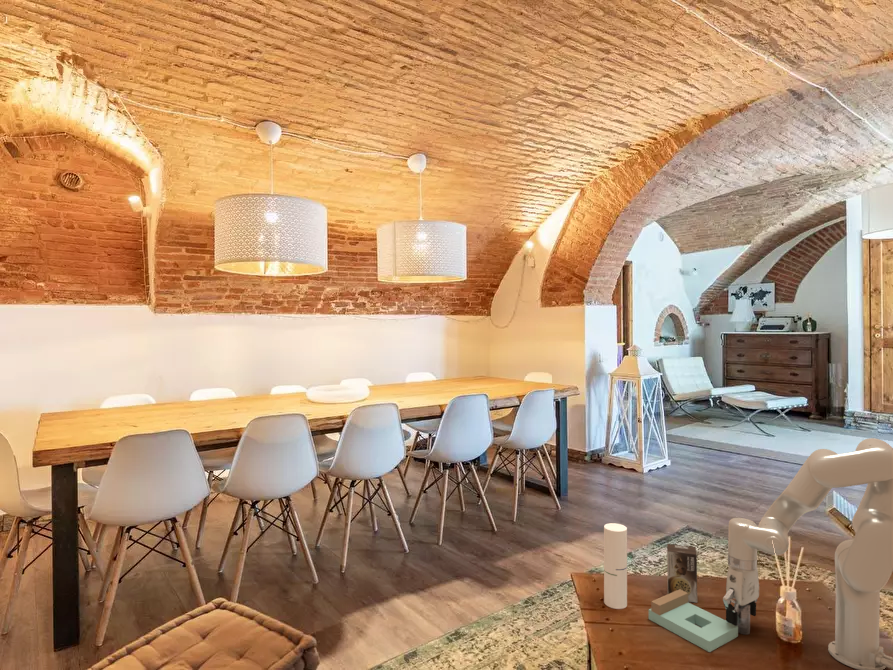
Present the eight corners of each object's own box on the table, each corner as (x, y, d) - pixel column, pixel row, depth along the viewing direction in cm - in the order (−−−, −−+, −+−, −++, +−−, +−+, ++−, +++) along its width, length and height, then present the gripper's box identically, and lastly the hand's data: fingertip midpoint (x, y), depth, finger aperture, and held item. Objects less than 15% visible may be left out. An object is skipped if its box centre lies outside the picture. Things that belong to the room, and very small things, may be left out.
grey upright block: (752, 631, 160) (752, 605, 160) (745, 636, 158) (745, 608, 158) (739, 625, 164) (739, 599, 163) (731, 629, 161) (731, 603, 161)
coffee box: (696, 594, 182) (696, 546, 182) (697, 603, 176) (697, 554, 176) (667, 589, 186) (667, 542, 185) (667, 598, 180) (667, 550, 179)
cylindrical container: (630, 608, 173) (629, 531, 173) (607, 608, 174) (607, 531, 173) (623, 597, 181) (623, 523, 180) (601, 597, 181) (601, 523, 180)
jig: (737, 636, 158) (738, 616, 158) (709, 652, 150) (709, 631, 150) (676, 606, 175) (676, 587, 175) (648, 619, 167) (648, 599, 167)
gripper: (738, 574, 153) (737, 633, 153) (770, 559, 162) (769, 616, 162) (713, 563, 159) (711, 621, 160) (745, 550, 168) (744, 604, 169)
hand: (741, 618), depth 161 cm, fingers open, 9 cm apart
